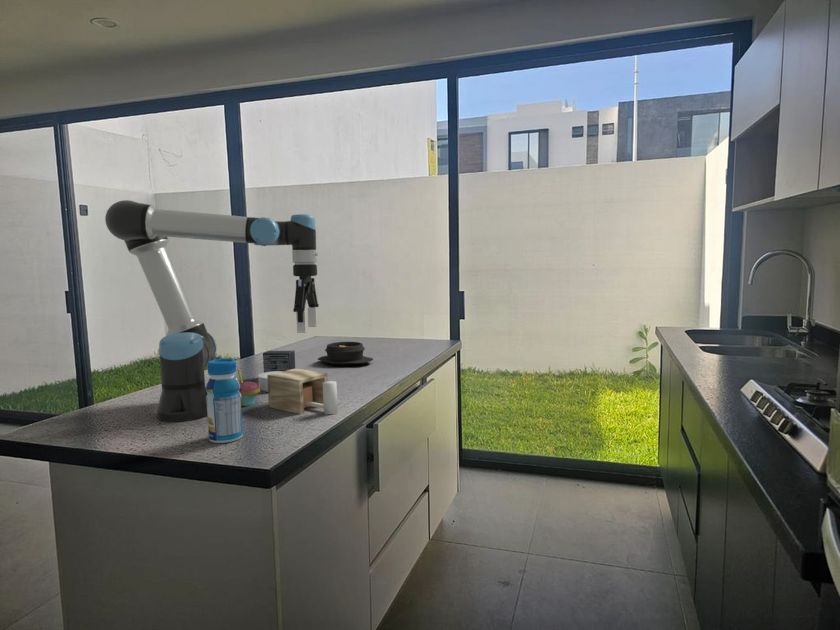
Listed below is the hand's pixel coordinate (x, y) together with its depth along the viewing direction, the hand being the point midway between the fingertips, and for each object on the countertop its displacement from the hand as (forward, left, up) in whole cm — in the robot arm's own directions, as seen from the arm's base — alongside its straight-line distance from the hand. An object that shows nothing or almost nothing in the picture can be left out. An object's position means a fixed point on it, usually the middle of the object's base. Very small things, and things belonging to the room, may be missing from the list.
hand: (307, 329), depth 177 cm
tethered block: (-10, -12, -22) cm, 27 cm away
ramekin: (+1, +19, -22) cm, 29 cm away
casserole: (+48, +29, -22) cm, 60 cm away
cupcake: (-17, +11, -22) cm, 30 cm away
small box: (+13, +30, -22) cm, 39 cm away
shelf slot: (-10, -5, -22) cm, 25 cm away
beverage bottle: (-41, -12, -22) cm, 48 cm away
